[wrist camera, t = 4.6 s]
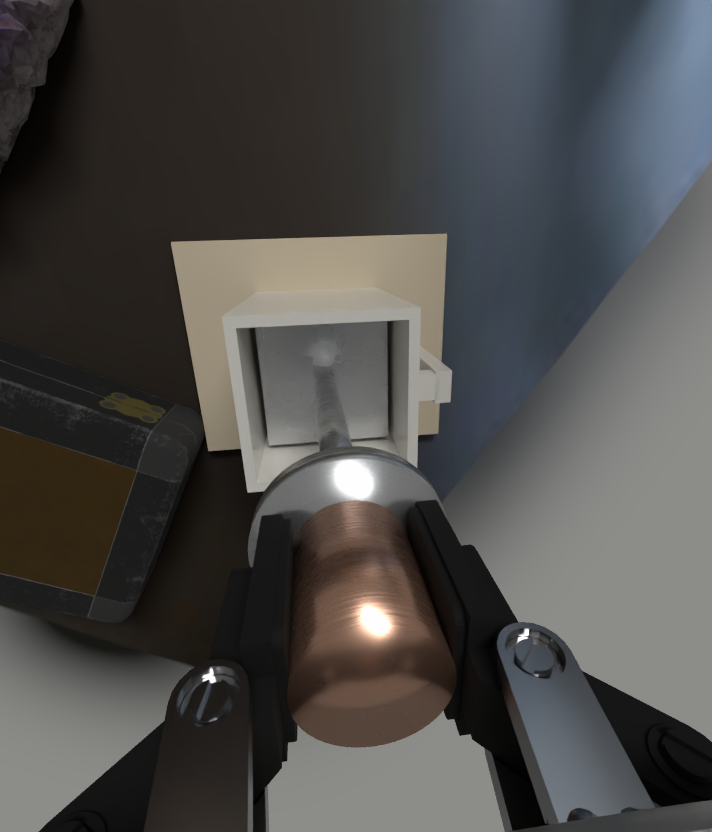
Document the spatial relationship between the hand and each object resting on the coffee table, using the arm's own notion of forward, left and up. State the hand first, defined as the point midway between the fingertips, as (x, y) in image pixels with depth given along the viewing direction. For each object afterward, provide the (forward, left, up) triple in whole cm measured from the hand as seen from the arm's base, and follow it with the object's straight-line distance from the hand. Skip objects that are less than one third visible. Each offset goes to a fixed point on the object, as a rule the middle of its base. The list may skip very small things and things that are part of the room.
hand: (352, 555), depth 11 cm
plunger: (0, 0, -17) cm, 17 cm away
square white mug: (0, 0, -28) cm, 28 cm away
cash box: (+26, +9, -29) cm, 40 cm away
